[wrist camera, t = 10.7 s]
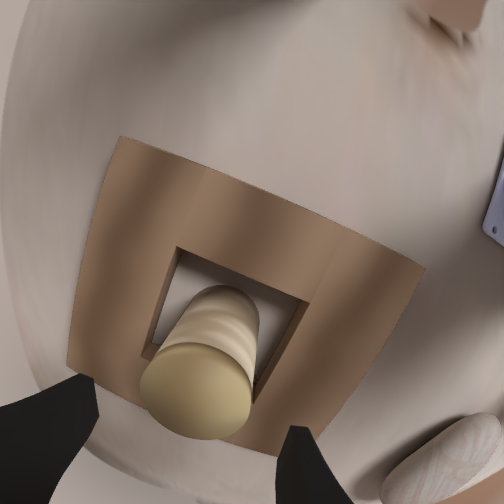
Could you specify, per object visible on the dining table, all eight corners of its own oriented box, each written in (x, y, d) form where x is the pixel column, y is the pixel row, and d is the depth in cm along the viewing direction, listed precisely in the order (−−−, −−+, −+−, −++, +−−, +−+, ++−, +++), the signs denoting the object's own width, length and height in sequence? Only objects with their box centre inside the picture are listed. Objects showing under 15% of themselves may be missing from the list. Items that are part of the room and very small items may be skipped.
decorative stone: (397, 494, 22) (407, 527, 17) (356, 471, 21) (365, 512, 16) (495, 423, 20) (516, 452, 15) (474, 384, 19) (502, 418, 14)
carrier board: (411, 260, 17) (425, 268, 15) (295, 443, 20) (296, 461, 19) (134, 140, 17) (119, 135, 15) (79, 353, 20) (66, 365, 18)
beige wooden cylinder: (265, 292, 18) (259, 369, 10) (252, 356, 19) (240, 448, 11) (192, 278, 18) (138, 342, 10) (185, 342, 19) (141, 424, 11)
